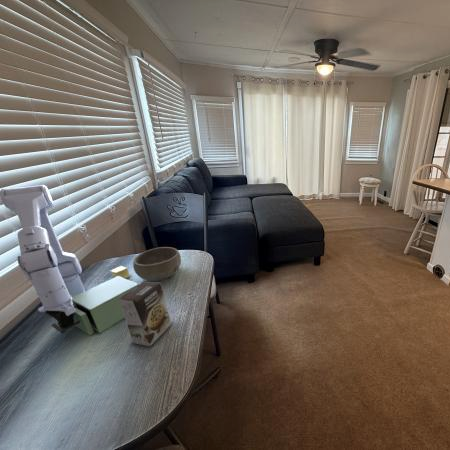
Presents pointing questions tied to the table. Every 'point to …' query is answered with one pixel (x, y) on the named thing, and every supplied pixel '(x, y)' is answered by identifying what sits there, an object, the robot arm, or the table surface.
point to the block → (120, 272)
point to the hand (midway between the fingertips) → (69, 326)
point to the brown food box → (145, 312)
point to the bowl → (157, 263)
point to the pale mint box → (105, 301)
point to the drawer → (78, 321)
